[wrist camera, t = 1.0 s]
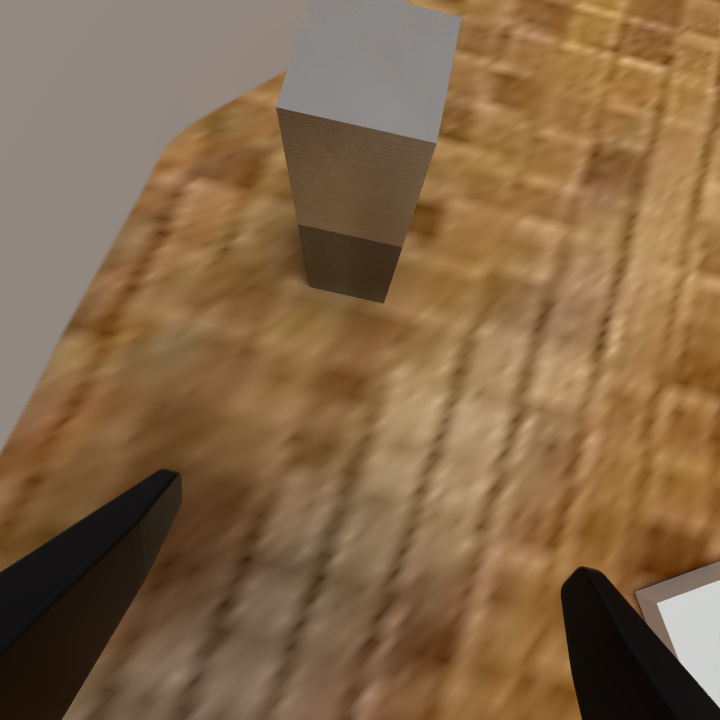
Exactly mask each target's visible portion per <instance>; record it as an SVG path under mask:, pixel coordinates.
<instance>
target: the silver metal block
mask: <svg viewBox="0 0 720 720" xmlns="http://www.w3.org/2000/svg"><path fill="white" fill-rule="evenodd" d="M461 18H462V17H461V16H457V15H452V14H448V13H443V12H439V11H435V10H430V9H426V8H422V7H417V6H413V5H408V4H404V3H399V2H395V1H391V0H309V2H308V5H307V8H306V12H305V15H304V18H303V21H302V25H301V28H300V31H299V34H298V38H297V41H296V45H295V47H294V50H293V54H292V57H291V60H290V64H289V67H288V70H287V73H286V76H285V80H284V83H283V86H282V89H281V93H280V96H279V99H278V102H277V106H276V110H277V115H278V120H279V126H280V131H281V136H282V141H283V147H284V152H285V157H286V163H287V168H288V173H289V178H290V184H291V189H292V194H293V200H294V205H295V210H296V215H297V221H298V226H299V231H300V237H301V242H302V247H303V252H304V258H305V263H306V268H307V274H308V279H309V284H310V287H313V288H318V289H322V290H327V291H331V292H336V293H340V294H345V295H349V296H354V297H358V298H363V299H367V300H372V301H376V302H381V303H384V301H385V298H386V295H387V292H388V289H389V286H390V283H391V280H392V277H393V274H394V271H395V268H396V265H397V262H398V259H399V256H400V253H401V250H402V247H403V244H404V241H405V238H406V234H407V231H408V228H409V225H410V222H411V219H412V216H413V213H414V210H415V207H416V204H417V201H418V198H419V195H420V192H421V189H422V186H423V183H424V180H425V177H426V174H427V171H428V168H429V165H430V162H431V159H432V156H433V153H434V150H435V147H436V144H437V139H438V134H439V129H440V124H441V119H442V114H443V109H444V104H445V99H446V94H447V89H448V84H449V79H450V74H451V69H452V64H453V58H454V53H455V48H456V43H457V38H458V33H459V28H460V23H461Z"/></svg>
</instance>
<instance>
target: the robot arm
mask: <svg viewBox="0 0 720 720" xmlns="http://www.w3.org/2000/svg"><path fill="white" fill-rule="evenodd" d="M181 502H182V477H181V474H180V473H179V472H177V471H173V470H168V469H160V470H158V471H156V472H155V473H153V474H152V475H150V476H149V477H147V478H146V479H144V480H143V481H141V482H139V483H138V484H136V485H135V486H133V487H132V488H130V489H129V490H127V491H125V492H124V493H122V494H121V495H119V496H118V497H116V498H115V499H113V500H111V501H110V502H108V503H107V504H105V505H104V506H102V507H101V508H99V509H98V510H96V511H94V512H93V513H91V514H90V515H88V516H87V517H85V518H84V519H82V520H80V521H79V522H77V523H76V524H74V525H73V526H71V527H70V528H68V529H67V530H65V531H63V532H62V533H60V534H59V535H57V536H56V537H54V538H53V539H51V540H49V541H48V542H46V543H45V544H43V545H42V546H40V547H39V548H37V549H36V550H34V551H32V552H31V553H29V554H28V555H26V556H25V557H23V558H22V559H20V560H18V561H17V562H15V563H14V564H12V565H11V566H9V567H8V568H6V569H5V570H3V571H1V572H0V720H62V718H63V717H64V715H65V713H66V712H67V710H68V708H69V707H70V705H71V703H72V702H73V700H74V698H75V697H76V695H77V693H78V692H79V690H80V688H81V687H82V685H83V683H84V681H85V680H86V678H87V676H88V675H89V673H90V671H91V670H92V668H93V666H94V665H95V663H96V661H97V660H98V658H99V656H100V655H101V653H102V651H103V650H104V648H105V646H106V645H107V643H108V641H109V640H110V638H111V636H112V635H113V633H114V631H115V630H116V628H117V626H118V625H119V623H120V621H121V620H122V618H123V616H124V614H125V613H126V611H127V609H128V608H129V606H130V604H131V603H132V601H133V599H134V598H135V596H136V594H137V593H138V591H139V589H140V588H141V586H142V584H143V582H144V581H145V579H146V577H147V575H148V573H149V571H150V569H151V567H152V565H153V563H154V561H155V559H156V556H157V554H158V552H159V550H160V548H161V546H162V544H163V542H164V539H165V537H166V535H167V533H168V531H169V529H170V527H171V524H172V522H173V520H174V518H175V516H176V514H177V512H178V510H179V507H180V505H181ZM561 602H562V609H563V616H564V624H565V631H566V638H567V645H568V653H569V660H570V666H571V672H572V677H573V682H574V687H575V691H576V695H577V700H578V704H579V709H580V713H581V717H582V720H720V708H719V706H718V705H717V704H716V703H715V702H714V701H713V699H712V698H711V697H710V696H709V695H708V694H707V693H706V691H705V690H704V689H703V688H702V687H701V686H700V685H699V683H698V682H697V681H696V680H695V679H694V678H693V676H692V675H691V674H690V673H689V672H688V671H687V670H686V668H685V667H684V666H683V665H682V664H681V663H680V661H679V660H678V659H677V658H676V657H675V656H674V655H673V653H672V652H671V651H670V650H669V649H668V648H667V646H666V645H665V644H664V643H663V642H662V641H661V640H660V638H659V637H658V636H657V635H656V634H655V633H654V631H653V630H652V629H651V628H650V627H649V626H648V625H647V623H646V622H645V621H644V620H643V619H642V618H641V617H640V615H639V614H638V613H637V612H636V611H635V610H634V608H633V607H632V606H631V605H630V604H629V603H628V602H627V600H626V599H625V598H624V597H623V596H622V595H621V593H620V592H619V591H618V590H617V589H616V588H615V587H614V585H613V584H612V583H611V582H610V581H609V580H608V578H607V577H606V576H605V575H604V574H603V573H602V572H601V571H599V570H596V569H593V568H588V567H584V566H581V567H578V568H577V569H576V570H575V571H574V572H573V573H572V575H571V576H570V577H569V578H568V579H567V580H566V581H565V582H564V584H563V585H562V588H561Z"/></svg>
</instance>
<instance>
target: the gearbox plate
mask: <svg viewBox="0 0 720 720" xmlns="http://www.w3.org/2000/svg"><path fill="white" fill-rule="evenodd" d="M635 594H636V597H637V600H638V602H639V605H640V608H641V610H642V613H643V615H644V618H645V621H646V623H647V625H648V626H649V627H650V628H651V629H652V630H653V631H654V633H655V634H656V635H657V636H658V637H659V638H660V640H661V641H662V642H663V643H664V644H665V645H666V646H667V648H668V649H669V650H670V651H671V652H672V653H673V655H674V656H675V657H676V658H677V659H678V660H679V661H680V663H681V664H682V665H683V666H684V667H685V668H686V670H687V671H688V672H689V673H690V674H691V675H692V676H693V678H694V679H695V680H696V681H697V682H698V683H699V685H700V686H701V687H702V688H703V689H704V690H705V691H706V693H707V694H708V695H709V696H710V697H711V698H712V699H713V701H714V702H715V703H716V704H717V705H718V706H719V708H720V561H718V562H716V563H713V564H710V565H707V566H705V567H702V568H699V569H696V570H693V571H691V572H688V573H685V574H682V575H680V576H677V577H674V578H671V579H669V580H666V581H663V582H660V583H658V584H655V585H652V586H649V587H647V588H644V589H641V590H638V591H635Z"/></svg>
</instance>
